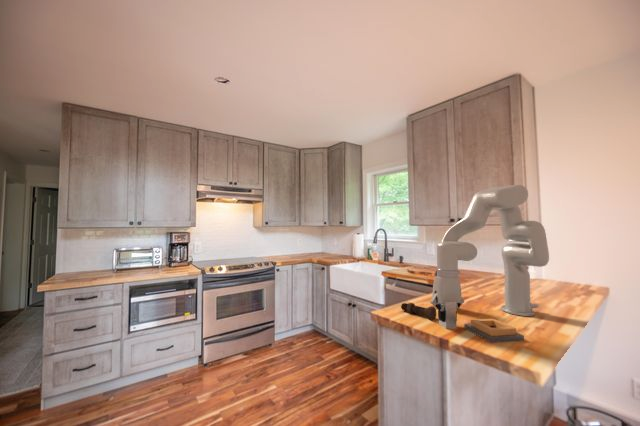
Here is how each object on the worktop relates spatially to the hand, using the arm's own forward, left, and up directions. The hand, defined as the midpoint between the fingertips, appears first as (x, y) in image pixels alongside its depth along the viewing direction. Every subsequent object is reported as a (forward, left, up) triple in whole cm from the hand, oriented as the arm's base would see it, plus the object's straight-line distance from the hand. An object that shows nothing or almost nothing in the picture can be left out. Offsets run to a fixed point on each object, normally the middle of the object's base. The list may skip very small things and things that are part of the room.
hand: (447, 319), depth 105 cm
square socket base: (-12, +9, -2) cm, 15 cm away
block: (0, 0, -2) cm, 2 cm away
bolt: (+5, -14, -3) cm, 15 cm away
